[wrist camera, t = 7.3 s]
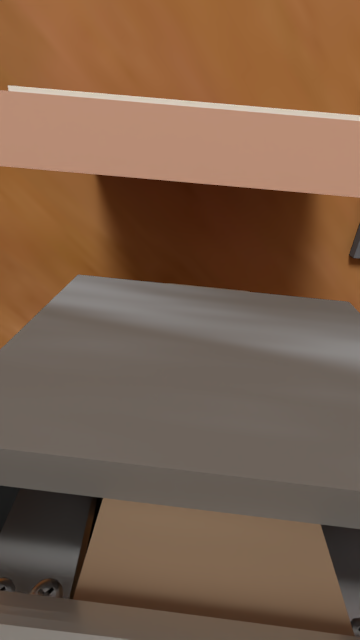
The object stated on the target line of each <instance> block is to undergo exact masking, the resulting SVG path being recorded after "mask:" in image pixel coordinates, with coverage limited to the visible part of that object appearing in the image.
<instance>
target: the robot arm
mask: <svg viewBox="0 0 360 640" xmlns="http://www.w3.org/2000/svg"><path fill="white" fill-rule="evenodd" d="M102 500H103V498H99V497H91V496H83V495H75V494H66V493H58V492H50V491H42V490H33V489H25V488H17V487H9V486H1V485H0V640H360V529H354V528H346V527H338V526H330V525H321V527H322V531H323V534H324V537H325V540H326V544H327V547H328V550H329V554H330V557H331V560H332V563H333V567H334V570H335V573H336V577H337V580H338V583H339V586H340V590H341V593H342V596H343V599H344V603H345V606H346V609H347V613H348V616H349V619H350V622H351V626H352V629H353V632H354V636H348V635H341V634H333V633H326V632H319V631H311V630H304V629H297V628H289V627H281V626H274V625H266V624H259V623H251V622H243V621H236V620H228V619H221V618H213V617H205V616H198V615H190V614H182V613H175V612H167V611H159V610H152V609H144V608H136V607H128V606H120V605H112V604H104V603H96V602H88V601H80V600H73V597H74V594H75V590H76V587H77V584H78V580H79V577H80V573H81V570H82V567H83V563H84V560H85V557H86V553H87V550H88V547H89V543H90V540H91V537H92V533H93V530H94V527H95V523H96V520H97V517H98V513H99V510H100V506H101V503H102Z"/></svg>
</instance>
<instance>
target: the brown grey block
mask: <svg viewBox="0 0 360 640" xmlns="http://www.w3.org/2000/svg"><path fill="white" fill-rule="evenodd" d="M0 485H1V486H9V487H17V488H25V489H33V490H42V491H50V492H58V493H66V494H75V495H83V496H91V497H99V498H103V500H102V503H101V506H100V510H99V513H98V517H97V520H96V523H95V527H94V530H93V533H92V537H91V540H90V543H89V547H88V550H87V553H86V557H85V560H84V563H83V567H82V570H81V573H80V577H79V580H78V584H77V587H76V590H75V594H74V597H73V600H80V601H88V602H96V603H104V604H112V605H120V606H128V607H136V608H144V609H152V610H159V611H167V612H175V613H182V614H190V615H198V616H205V617H213V618H221V619H228V620H236V621H243V622H251V623H259V624H266V625H274V626H281V627H289V628H297V629H304V630H311V631H319V632H326V633H333V634H341V635H348V636H354V632H353V629H352V626H351V622H350V619H349V616H348V613H347V609H346V606H345V603H344V599H343V596H342V593H341V590H340V586H339V583H338V580H337V577H336V573H335V570H334V567H333V563H332V560H331V557H330V554H329V550H328V547H327V544H326V540H325V537H324V534H323V531H322V527H321V525H330V526H338V527H346V528H354V529H360V313H359V312H358V311H357V310H356V309H355V308H354V307H353V306H352V305H351V303H350V302H345V301H335V300H325V299H315V298H305V297H295V296H285V295H275V294H265V293H255V292H250V291H243V290H233V289H223V288H213V287H203V286H193V285H183V284H173V283H167V284H166V283H156V282H146V281H136V280H126V279H116V278H106V277H96V276H86V275H77V276H76V277H75V278H74V279H73V280H72V281H71V282H70V283H69V284H68V285H67V286H66V287H65V288H64V289H63V290H62V291H61V292H60V293H59V294H57V295H56V296H55V297H54V298H53V299H52V300H51V301H50V302H49V303H48V304H47V305H46V306H45V307H44V308H43V309H42V310H41V311H40V312H39V313H38V314H37V315H36V316H35V317H34V318H33V319H32V320H31V321H29V322H28V323H27V324H26V325H25V326H24V327H23V328H22V329H21V330H20V331H19V332H18V333H17V334H16V335H15V336H14V337H13V338H12V339H11V340H10V341H9V342H8V343H7V344H6V345H5V346H4V347H2V348H1V349H0Z"/></svg>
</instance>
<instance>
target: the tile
mask: <svg viewBox="0 0 360 640" xmlns="http://www.w3.org/2000/svg"><path fill="white" fill-rule="evenodd" d="M8 90H9V91H3V90H0V166H7V167H18V168H29V169H41V170H52V171H64V172H75V173H86V174H98V175H109V176H121V177H132V178H143V179H155V180H166V181H177V182H189V183H200V184H212V185H223V186H234V187H246V188H257V189H269V190H280V191H291V192H303V193H314V194H325V195H337V196H348V197H360V116H359V115H347V114H335V113H324V112H312V111H300V110H289V109H277V108H265V107H254V106H242V105H230V104H219V103H207V102H195V101H183V100H172V99H160V98H148V97H137V96H125V95H113V94H102V93H90V92H78V91H67V90H55V89H43V88H31V87H20V86H8Z"/></svg>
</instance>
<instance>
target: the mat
mask: <svg viewBox="0 0 360 640" xmlns="http://www.w3.org/2000/svg"><path fill="white" fill-rule="evenodd" d="M349 255H350V256H352V257H353V258H360V225H359V228H358V231H357V234H356V236H355V239H354V242H353V245H352V248H351V251H350V254H349Z"/></svg>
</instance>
